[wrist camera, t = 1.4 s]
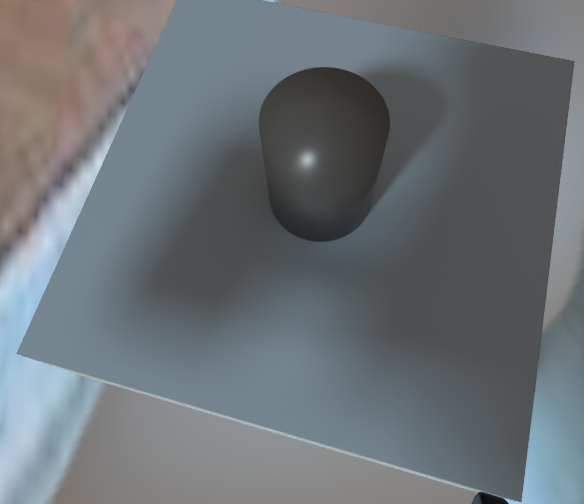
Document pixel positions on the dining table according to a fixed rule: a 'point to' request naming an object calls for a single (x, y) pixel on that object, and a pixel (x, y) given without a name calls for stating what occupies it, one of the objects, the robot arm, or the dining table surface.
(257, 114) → the lid
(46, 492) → the dining table surface
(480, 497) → the robot arm
